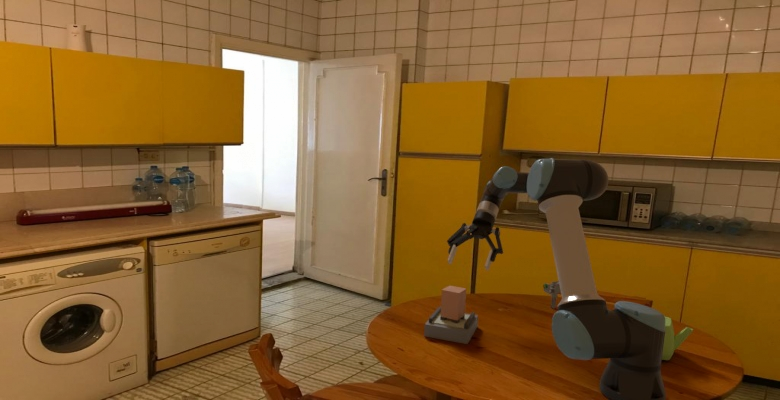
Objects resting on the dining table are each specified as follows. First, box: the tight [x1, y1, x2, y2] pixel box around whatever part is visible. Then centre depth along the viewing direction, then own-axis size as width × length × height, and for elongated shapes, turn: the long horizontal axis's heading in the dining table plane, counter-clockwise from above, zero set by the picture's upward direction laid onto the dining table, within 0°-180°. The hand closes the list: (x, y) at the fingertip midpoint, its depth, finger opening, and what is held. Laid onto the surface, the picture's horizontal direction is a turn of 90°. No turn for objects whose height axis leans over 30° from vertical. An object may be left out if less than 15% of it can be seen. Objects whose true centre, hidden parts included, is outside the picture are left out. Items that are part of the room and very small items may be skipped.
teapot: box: [662, 315, 694, 361], centre depth 154 cm, size 18×20×13 cm
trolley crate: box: [440, 285, 467, 323], centre depth 165 cm, size 6×6×10 cm
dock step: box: [423, 306, 479, 345], centre depth 166 cm, size 16×14×6 cm
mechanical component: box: [542, 280, 561, 309], centre depth 193 cm, size 3×10×10 cm, turn 115°
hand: (467, 265), depth 173 cm, fingers open, 13 cm apart
